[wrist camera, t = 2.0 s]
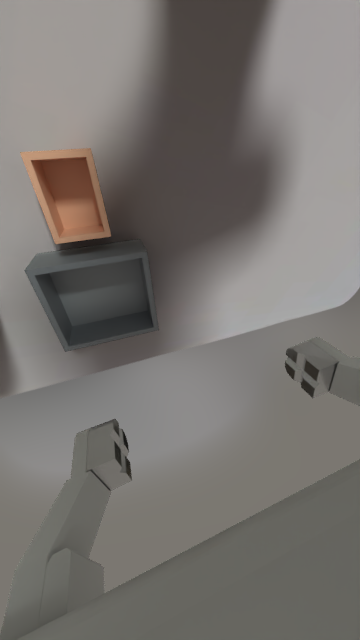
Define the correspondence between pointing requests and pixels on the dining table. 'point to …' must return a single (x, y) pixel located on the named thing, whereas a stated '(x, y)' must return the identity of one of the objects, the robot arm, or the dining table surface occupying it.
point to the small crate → (68, 193)
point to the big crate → (95, 292)
